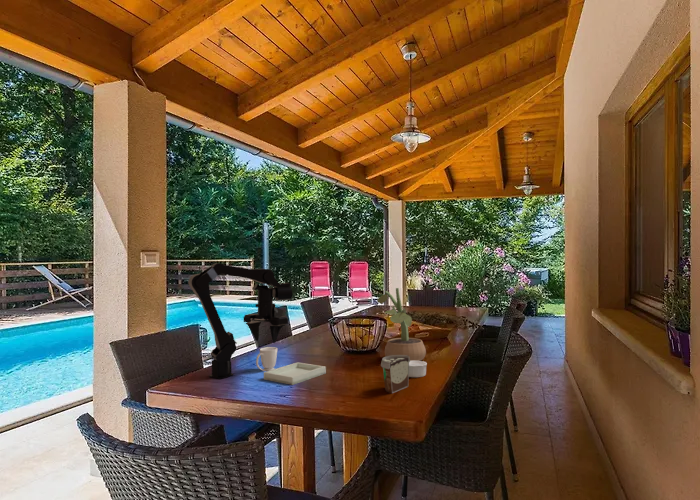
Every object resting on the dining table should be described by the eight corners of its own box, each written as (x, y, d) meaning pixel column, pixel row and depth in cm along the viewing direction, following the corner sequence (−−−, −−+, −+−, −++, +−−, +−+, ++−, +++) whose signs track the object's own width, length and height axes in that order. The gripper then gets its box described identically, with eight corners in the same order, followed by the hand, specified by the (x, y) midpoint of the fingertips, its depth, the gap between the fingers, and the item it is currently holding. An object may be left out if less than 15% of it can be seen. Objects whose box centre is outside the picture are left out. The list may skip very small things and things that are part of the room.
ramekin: (400, 372, 176) (400, 360, 176) (424, 371, 176) (423, 359, 176) (404, 378, 167) (404, 366, 167) (429, 377, 167) (429, 365, 167)
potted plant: (391, 353, 208) (389, 285, 208) (431, 356, 200) (429, 285, 200) (370, 365, 188) (368, 289, 188) (413, 368, 180) (411, 289, 180)
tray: (292, 385, 162) (292, 377, 162) (263, 379, 170) (263, 372, 170) (325, 373, 176) (325, 366, 176) (297, 368, 184) (297, 362, 184)
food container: (395, 382, 162) (394, 353, 162) (410, 385, 158) (409, 355, 158) (373, 391, 152) (372, 360, 152) (389, 394, 148) (388, 362, 148)
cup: (281, 368, 185) (281, 347, 185) (263, 374, 177) (263, 352, 177) (268, 366, 189) (268, 346, 189) (250, 372, 181) (249, 350, 181)
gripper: (297, 300, 186) (297, 340, 185) (262, 298, 196) (263, 336, 196) (277, 303, 176) (277, 345, 176) (242, 300, 187) (242, 340, 187)
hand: (265, 341), depth 184 cm, fingers open, 9 cm apart
